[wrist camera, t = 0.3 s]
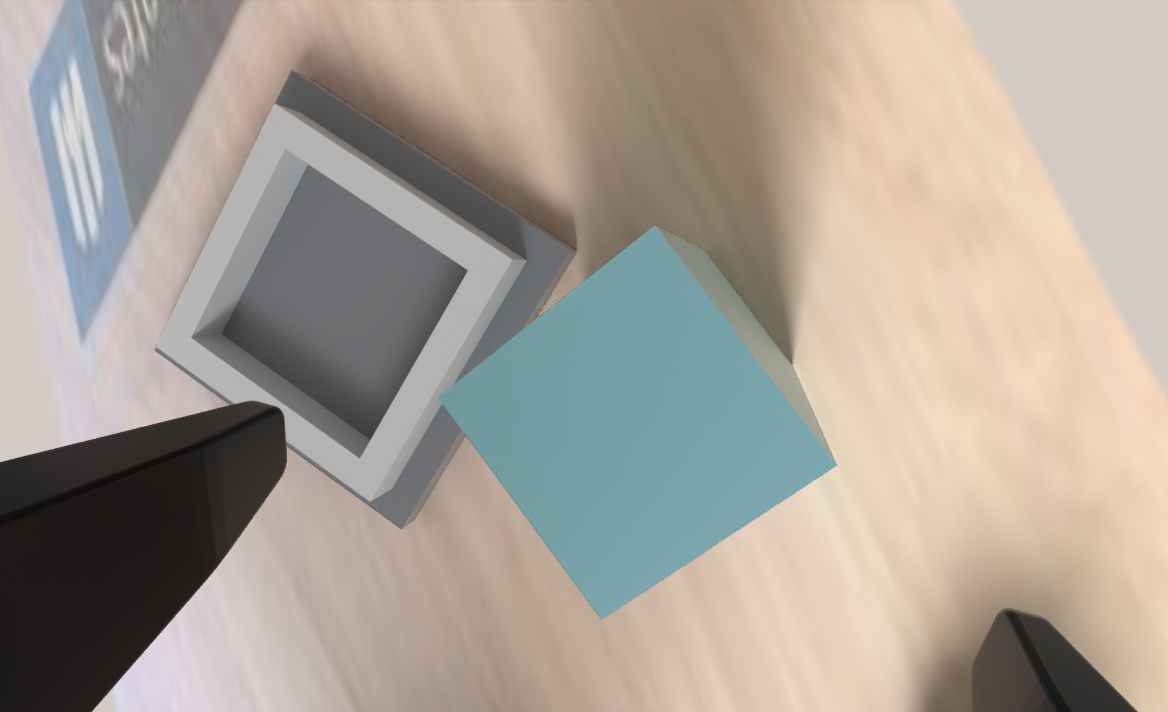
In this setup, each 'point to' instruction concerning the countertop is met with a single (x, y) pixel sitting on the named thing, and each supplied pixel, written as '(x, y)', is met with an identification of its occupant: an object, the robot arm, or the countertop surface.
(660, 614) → the countertop surface
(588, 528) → the block
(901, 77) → the countertop surface
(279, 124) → the seat plate
